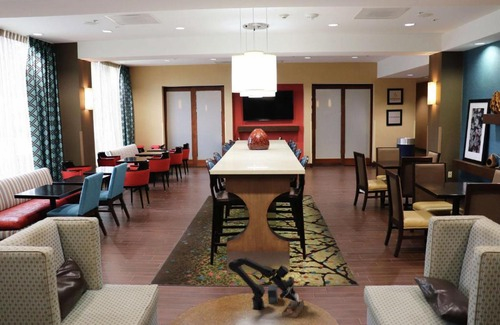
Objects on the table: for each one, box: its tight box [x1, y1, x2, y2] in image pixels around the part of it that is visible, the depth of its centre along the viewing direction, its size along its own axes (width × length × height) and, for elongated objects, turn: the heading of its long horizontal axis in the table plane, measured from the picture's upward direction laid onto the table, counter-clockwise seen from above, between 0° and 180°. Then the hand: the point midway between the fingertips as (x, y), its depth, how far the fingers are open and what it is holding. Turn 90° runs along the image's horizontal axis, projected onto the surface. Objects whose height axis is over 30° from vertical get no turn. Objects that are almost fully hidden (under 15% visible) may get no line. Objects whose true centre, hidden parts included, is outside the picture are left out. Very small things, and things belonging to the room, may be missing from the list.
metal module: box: [289, 293, 300, 307], centre depth 298 cm, size 4×4×9 cm
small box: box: [267, 284, 279, 305], centre depth 315 cm, size 11×6×10 cm, turn 174°
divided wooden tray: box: [281, 299, 305, 318], centre depth 294 cm, size 10×19×5 cm, turn 159°
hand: (296, 299), depth 298 cm, fingers open, 5 cm apart
